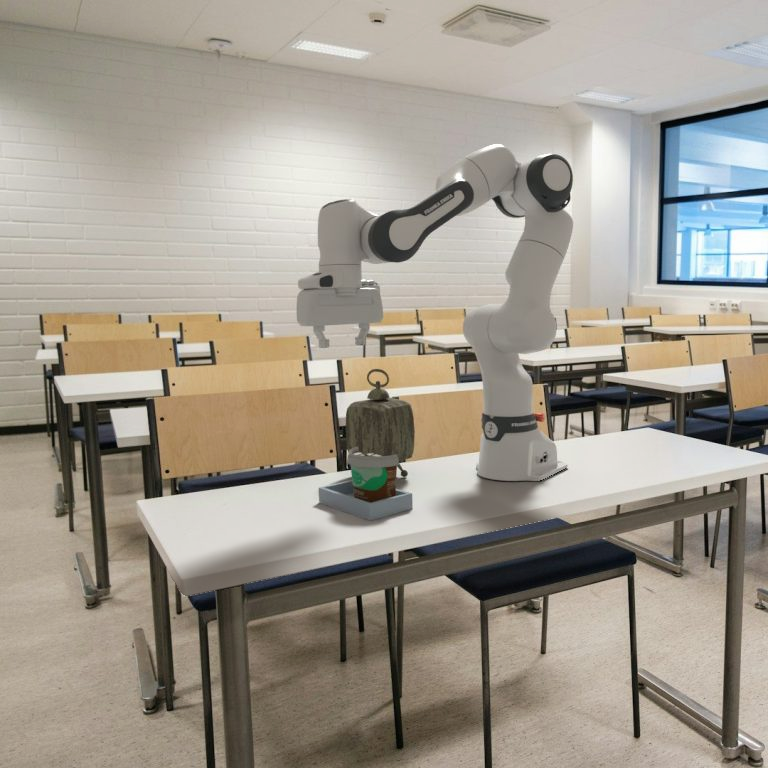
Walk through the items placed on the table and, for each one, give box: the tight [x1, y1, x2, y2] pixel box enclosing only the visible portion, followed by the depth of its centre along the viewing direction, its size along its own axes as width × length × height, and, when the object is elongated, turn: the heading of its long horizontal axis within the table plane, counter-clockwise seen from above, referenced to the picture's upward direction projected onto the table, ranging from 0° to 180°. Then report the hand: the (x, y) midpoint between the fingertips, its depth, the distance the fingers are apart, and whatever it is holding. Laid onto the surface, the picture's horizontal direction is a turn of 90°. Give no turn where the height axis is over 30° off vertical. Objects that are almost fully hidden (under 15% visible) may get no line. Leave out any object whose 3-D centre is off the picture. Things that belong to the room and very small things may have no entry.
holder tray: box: [318, 479, 414, 522], centre depth 138 cm, size 11×17×3 cm, turn 40°
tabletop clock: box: [345, 368, 416, 478], centre depth 160 cm, size 14×9×25 cm, turn 45°
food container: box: [346, 447, 400, 503], centre depth 138 cm, size 12×6×10 cm, turn 45°
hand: (342, 346), depth 146 cm, fingers open, 8 cm apart
